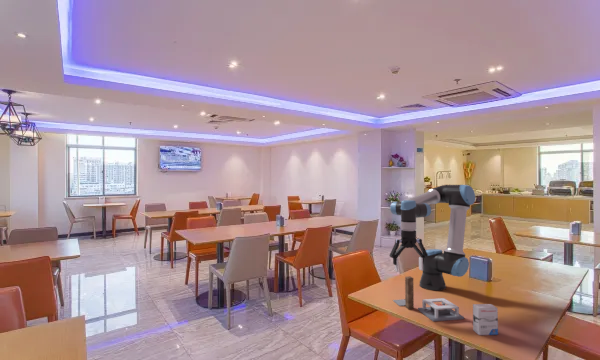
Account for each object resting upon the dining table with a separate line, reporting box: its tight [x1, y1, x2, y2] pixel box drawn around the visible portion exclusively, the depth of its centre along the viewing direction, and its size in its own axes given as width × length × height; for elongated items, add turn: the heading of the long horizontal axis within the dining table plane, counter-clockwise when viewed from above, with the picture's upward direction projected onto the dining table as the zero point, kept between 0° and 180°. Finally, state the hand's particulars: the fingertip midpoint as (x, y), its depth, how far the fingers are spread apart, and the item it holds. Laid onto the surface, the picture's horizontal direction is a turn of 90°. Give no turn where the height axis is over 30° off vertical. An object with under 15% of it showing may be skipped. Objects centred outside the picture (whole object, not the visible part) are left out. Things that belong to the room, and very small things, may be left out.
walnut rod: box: [404, 275, 415, 310], centre depth 168 cm, size 3×3×16 cm
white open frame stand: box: [417, 297, 465, 322], centre depth 160 cm, size 16×14×6 cm
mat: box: [392, 298, 405, 307], centre depth 175 cm, size 8×8×1 cm
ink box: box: [472, 303, 499, 336], centre depth 140 cm, size 8×5×12 cm, turn 92°
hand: (408, 270), depth 168 cm, fingers open, 13 cm apart
